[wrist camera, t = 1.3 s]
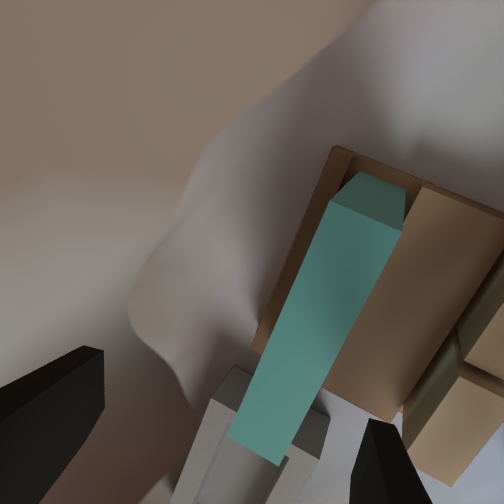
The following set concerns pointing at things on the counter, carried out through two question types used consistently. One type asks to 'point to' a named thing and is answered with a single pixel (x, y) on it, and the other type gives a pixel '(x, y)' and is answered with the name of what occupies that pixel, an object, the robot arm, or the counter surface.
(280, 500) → the stand
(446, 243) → the rack
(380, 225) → the board
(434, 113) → the counter surface
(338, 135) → the counter surface
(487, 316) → the offcut
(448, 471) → the offcut
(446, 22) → the counter surface
